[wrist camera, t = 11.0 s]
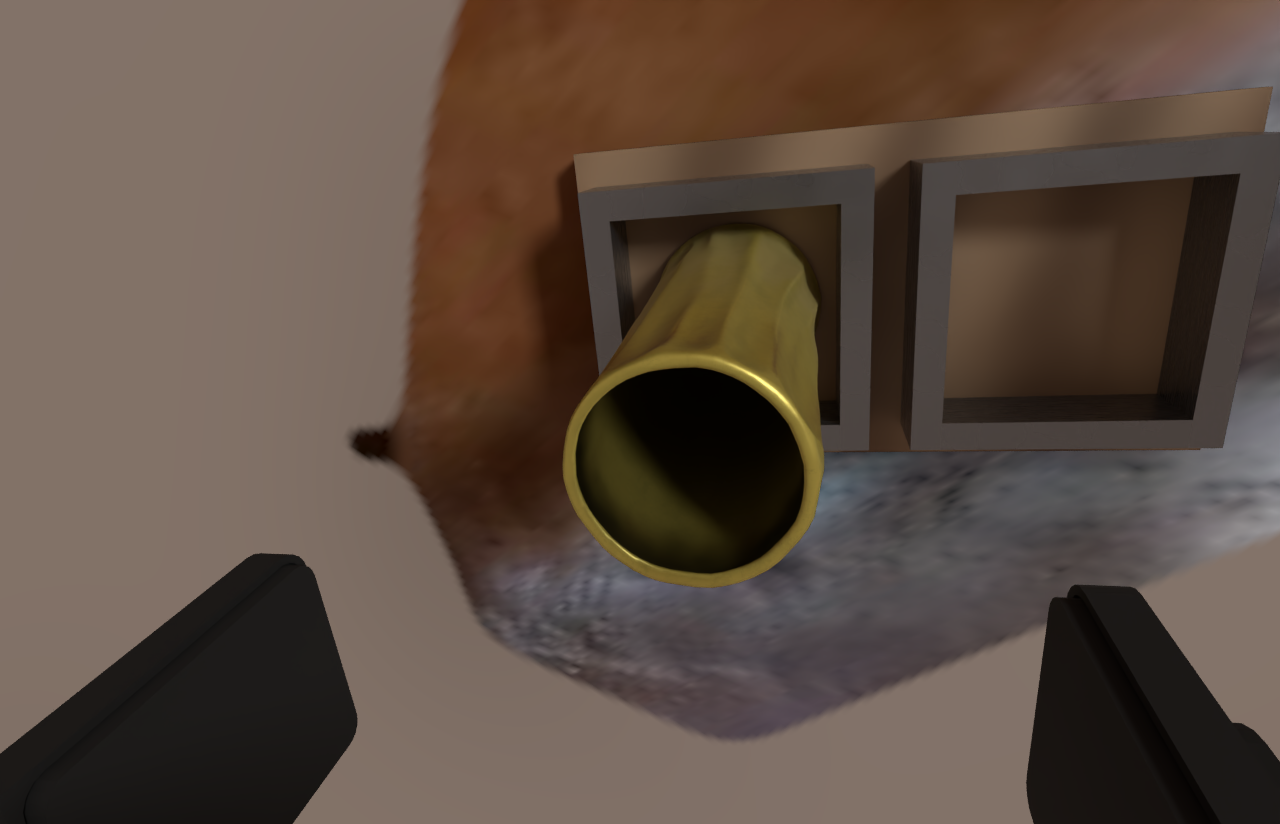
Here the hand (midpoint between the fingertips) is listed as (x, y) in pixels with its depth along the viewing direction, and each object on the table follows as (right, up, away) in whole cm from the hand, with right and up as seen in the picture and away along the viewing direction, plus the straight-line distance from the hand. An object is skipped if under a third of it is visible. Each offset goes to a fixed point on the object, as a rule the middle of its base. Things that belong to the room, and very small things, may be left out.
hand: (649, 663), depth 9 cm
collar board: (+9, +8, +18) cm, 22 cm away
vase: (+4, +7, +18) cm, 20 cm away
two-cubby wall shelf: (+9, +7, +17) cm, 20 cm away
